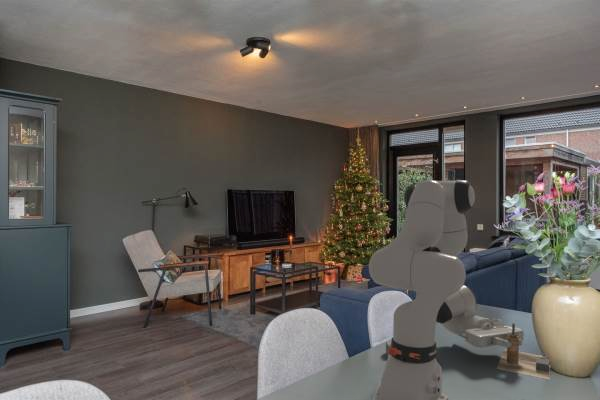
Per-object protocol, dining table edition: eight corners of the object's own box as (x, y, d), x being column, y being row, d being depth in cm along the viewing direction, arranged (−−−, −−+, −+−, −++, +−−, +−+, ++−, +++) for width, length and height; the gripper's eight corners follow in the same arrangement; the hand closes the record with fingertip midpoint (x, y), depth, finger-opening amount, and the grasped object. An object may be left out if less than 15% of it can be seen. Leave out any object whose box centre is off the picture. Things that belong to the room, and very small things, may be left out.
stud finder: (549, 372, 129) (549, 364, 128) (535, 369, 130) (536, 361, 130) (549, 365, 134) (549, 357, 134) (536, 363, 135) (536, 355, 135)
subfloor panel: (549, 383, 123) (549, 379, 123) (496, 371, 131) (497, 368, 131) (550, 360, 140) (550, 357, 140) (504, 351, 148) (504, 348, 148)
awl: (517, 365, 128) (519, 326, 128) (506, 362, 130) (507, 324, 130) (518, 361, 131) (519, 323, 131) (507, 359, 133) (508, 321, 133)
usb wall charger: (385, 352, 145) (385, 341, 145) (405, 353, 145) (406, 341, 145) (388, 357, 141) (388, 345, 141) (409, 357, 141) (409, 345, 141)
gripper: (456, 324, 138) (490, 337, 126) (501, 318, 146) (538, 330, 134) (455, 343, 138) (490, 358, 126) (501, 336, 146) (537, 350, 134)
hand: (515, 343), depth 130 cm, fingers closed on awl, 3 cm apart
